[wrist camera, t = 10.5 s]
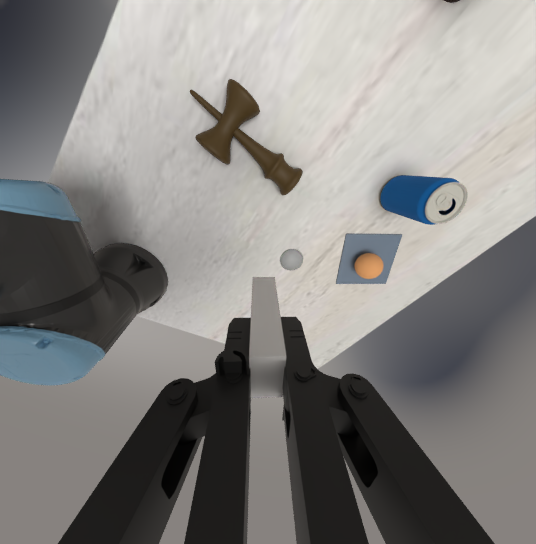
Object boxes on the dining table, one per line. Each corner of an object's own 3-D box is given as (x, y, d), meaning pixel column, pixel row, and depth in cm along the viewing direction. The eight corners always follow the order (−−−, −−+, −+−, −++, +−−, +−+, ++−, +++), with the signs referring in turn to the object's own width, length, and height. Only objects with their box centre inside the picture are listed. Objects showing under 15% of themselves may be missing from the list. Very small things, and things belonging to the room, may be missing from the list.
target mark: (335, 283, 48) (336, 283, 48) (346, 233, 42) (346, 234, 42) (385, 283, 48) (385, 283, 48) (401, 234, 43) (402, 234, 43)
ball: (354, 269, 48) (349, 279, 43) (359, 247, 45) (355, 255, 41) (380, 275, 45) (378, 286, 41) (387, 252, 43) (386, 261, 38)
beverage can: (391, 217, 41) (437, 235, 31) (371, 196, 39) (413, 208, 28) (419, 190, 39) (479, 199, 28) (399, 167, 37) (456, 167, 26)
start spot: (279, 269, 46) (279, 270, 45) (280, 249, 43) (280, 249, 43) (301, 269, 46) (301, 270, 46) (304, 249, 44) (304, 249, 43)
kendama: (275, 204, 40) (180, 126, 33) (308, 161, 37) (211, 64, 30) (279, 210, 34) (166, 118, 28) (318, 159, 31) (203, 42, 24)
